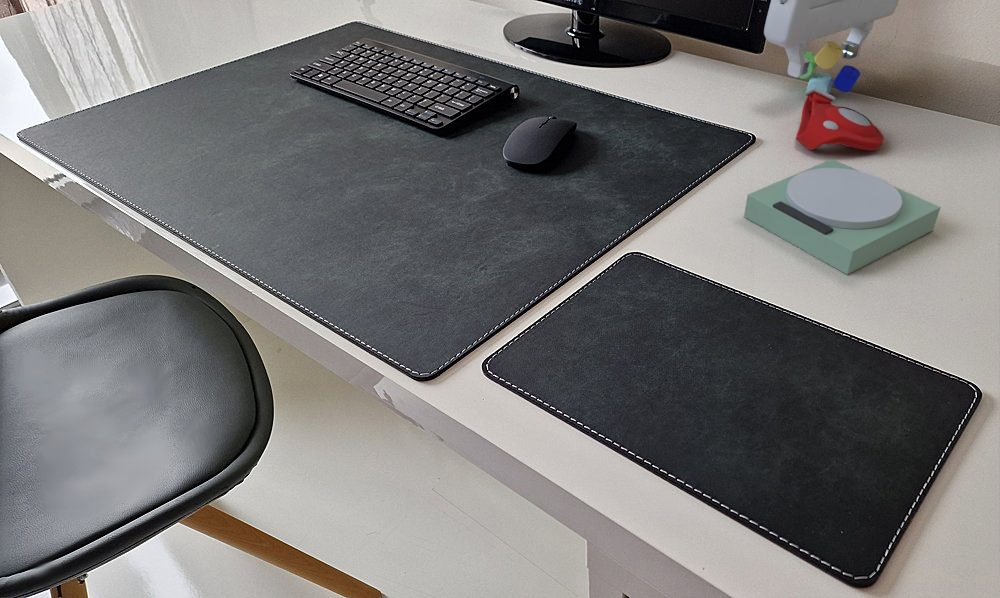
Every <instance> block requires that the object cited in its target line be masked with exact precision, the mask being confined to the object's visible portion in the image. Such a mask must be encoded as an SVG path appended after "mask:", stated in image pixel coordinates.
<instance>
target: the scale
mask: <svg viewBox="0 0 1000 598" xmlns="http://www.w3.org/2000/svg"><path fill="white" fill-rule="evenodd" d="M940 211H941V207H940V206H939V205H937V204H935V203H932V202H929V201H928V200H925V199H923V198H921V197H919V196H916V195H914V194H912V193H910V192H908V191H905V190H903V189H901V188H899V187H896V186H894V185H893V184H891V183H890V182H888V181H886V180H885V179H882V178H881V177H879V176H876V175H873V174H870V173H867V172H864V171H860V170H858V169H856V168H855V167H852V166H849V165H848V164H845V163H843V162H841V161H838V160H836V159H833V158H831V159H829V160H826V161H824V162H821V163H818V164H817V165H814V166H812V167H809V168H807V169H805V170H802V171H800V172H797V173H795V174H793V175H790V176H789V177H786V178H784V179H781V180H779V181H776V182H774V183H771V184H770V185H766V186H765V187H762V188H759V189H757V190H755V191H753V192H750V193H748V194H747V197H746V202H745V209H744V215H743V217H744V218H745V219H747V220H749V221H751V222H753V223H754V224H756V225H757V226H760V227H761V228H763V229H765V230H767V231H768V232H770V233H772V234H774V235H776V236H777V237H779V238H780V239H783V240H785V241H786V242H788V243H790V244H792V245H793V246H795V247H797V248H799V249H800V250H802V251H804V252H806V253H808V254H809V255H811V256H813V257H815V258H817V259H818V260H820V261H822V262H824V263H826V264H827V265H829V266H831V267H833V268H834V269H836V270H838V271H840V272H842V273H843V274H845V275H850V274H851V273H853V272H855V271H857V270H859V269H861V268H864V267H865V266H866V265H869V264H870V263H872V262H874V261H877V260H878V259H880V258H882V257H884V256H886V255H888V254H890V253H892V252H894V251H896V250H898V249H900V248H902V247H904V246H905V245H907V244H909V243H911V242H914V241H915V240H917V239H919V238H922V237H923V236H925V235H927V234H929V233H931V232H932V231H934V228H935V227H936V226H935V225H936V222H937V220H938V216H939V213H940Z"/></svg>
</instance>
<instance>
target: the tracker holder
mask: <svg viewBox="0 0 1000 598" xmlns="http://www.w3.org/2000/svg"><path fill="white" fill-rule="evenodd" d="M804 95H805V96H806V98H805V101H804V103H803V106H802V111H801V118H800V124H799V127H798V130H797V133H796V136H795V140H796V141H797V142H799V143H800V144H801V145H802V146H803V147H805V148H806V149H807V150H809V151H813V150H815V149H817V148H818V147H821V146H823V145H843V146H847V147H850V148H853V149H857V150H863V151H871V152H873V151H876V150H879V149H880V148H881V146H882V144H883V142H884V135H883V134H882V132H881V130H880V129H879V128H878V127H876V126H875V125H874V123H873V122H872V120H870V119H869V118H868V117H867V116H865V115H864V114H863V113H861V112H859V111H857V110H855V109H852V108H849V107H846V106H840V105H835V104H832V102H834V101H836V96H834V95H832V94H831V93H830V92H829V93H826V92H824V91H823V90H820V89H818V88H816V87H813V88H811V89H809V90H808V91H807V90H806V91H805V92H804Z"/></svg>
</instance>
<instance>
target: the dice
mask: <svg viewBox="0 0 1000 598" xmlns="http://www.w3.org/2000/svg"><path fill="white" fill-rule="evenodd" d="M803 52H804V58H805V60H807V61H810V62H809V67H808V69H807V70H808V72H807V74H806V75H803V76H800V77H798V79H802V80H808V83H807V87H806V91H808V90H809V89H811V88H813V87H816V88H818V89H820V90H823V91H824V92H826V93H829V94H830V92H831V90H832V86H834V88H835V89H836V90H838V91H840V92H842V93H850V92H851V90H852V89H853V87H854V86H855V84H856V82H857V81H858V80H859V78H860V76H861V72H860V71H859V69H857V68H856V67H855V66H852V65H848V64H846V65H843V66H842V68H841V69H840V70H839V72H838V74H837V75H836V76H835V78H833V76H832V75H830V74H828V73H827V72H826V73H825V72H816V73H814V71H815V70H816V69H817V68H818V67H819V68H820V69H822V70H825V71H831V69H832V68H833V67H834V66H835V64H836V63H838V61H839V60H840V59H841V58H842V57H841V56H842V55H843V49H842V48H841V45H839V44H838V43H837V42H835V41H826V43H825V44H824V45H823V46H822V47H821V49H820V50H819V51H818V52H817V53H816V54H815V53H813V52H811V51H807V50H804V51H803Z"/></svg>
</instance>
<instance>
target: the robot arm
mask: <svg viewBox="0 0 1000 598" xmlns="http://www.w3.org/2000/svg"><path fill="white" fill-rule="evenodd" d="M898 1H899V0H770V3H769V8H768V11H767V15H766V19H765V24H764V28H763V35H764V37H765V40H766V41H767V42H768V43H771V44H773V45H776V46H778V47H781V48H784V50H785V52H786V56H787V59H788V66H787V74H788V76H791V77H793V78H799V77H800V76H803V75H806V74H807V72H808V70H807V69H808V67H809V62H810V61H807V60H805V58H804V52H805V51H807V50H808V47H809V43H810V42H812V41H815V40H818V39H822V38H824V37H828V36H831V35H834V34H837V33H840V32H843V31H846V30H849V29H851V30H850V32H849V34H848V36H847V38H846V40H845V41H842V43H841V45H840V47H841V48H842V49H843V55H842V56H841V57H840V58H843V59H845V60H851V59H855V58H857V57H859V56H860V53H861V49H862V46H863V45H862V44H864V42H865V41H866V39H867V37H868V36H869V34H870V33H871V31H872V29H873V27H874V22H875V21H877V20H881V19H883V18H887V17H890V16H893V15H894V14H895V12H896V11H895V9H896V7H897V5H898ZM894 11H895V12H894ZM893 13H894V14H893ZM892 14H893V15H892Z"/></svg>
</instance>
